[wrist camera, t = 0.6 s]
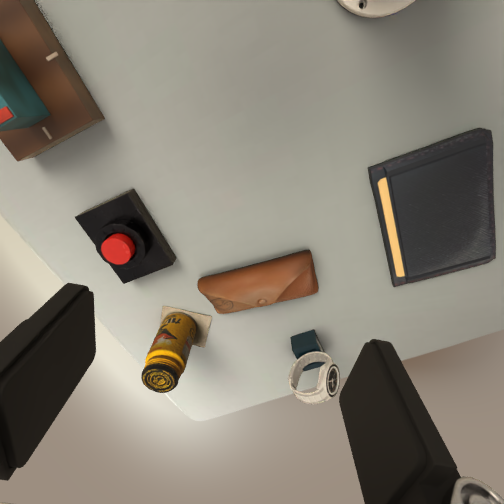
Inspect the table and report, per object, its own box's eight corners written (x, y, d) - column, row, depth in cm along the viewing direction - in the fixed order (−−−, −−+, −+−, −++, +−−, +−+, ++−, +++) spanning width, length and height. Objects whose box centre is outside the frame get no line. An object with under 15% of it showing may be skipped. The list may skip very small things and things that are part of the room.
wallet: (501, 266, 44) (392, 292, 46) (492, 259, 45) (388, 285, 48) (503, 124, 35) (371, 167, 38) (493, 122, 37) (366, 164, 40)
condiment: (163, 305, 52) (136, 359, 41) (211, 315, 52) (198, 372, 42) (159, 336, 55) (133, 394, 44) (204, 346, 55) (190, 405, 45)
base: (-54, 46, 35) (-82, 42, 33) (31, -14, 33) (9, -25, 30) (30, 159, 41) (12, 163, 38) (108, 116, 38) (96, 118, 35)
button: (101, 239, 42) (94, 244, 41) (124, 229, 41) (119, 234, 40) (117, 262, 44) (112, 268, 42) (141, 252, 43) (136, 258, 41)
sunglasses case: (217, 317, 52) (204, 325, 45) (207, 277, 52) (193, 279, 46) (322, 291, 48) (323, 296, 42) (310, 249, 49) (309, 247, 43)
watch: (334, 348, 54) (349, 402, 45) (292, 360, 56) (298, 416, 46) (324, 325, 52) (338, 378, 42) (281, 339, 54) (284, 393, 44)
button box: (82, 212, 44) (67, 222, 41) (133, 188, 42) (121, 196, 39) (129, 276, 49) (118, 290, 46) (176, 257, 47) (169, 271, 44)
